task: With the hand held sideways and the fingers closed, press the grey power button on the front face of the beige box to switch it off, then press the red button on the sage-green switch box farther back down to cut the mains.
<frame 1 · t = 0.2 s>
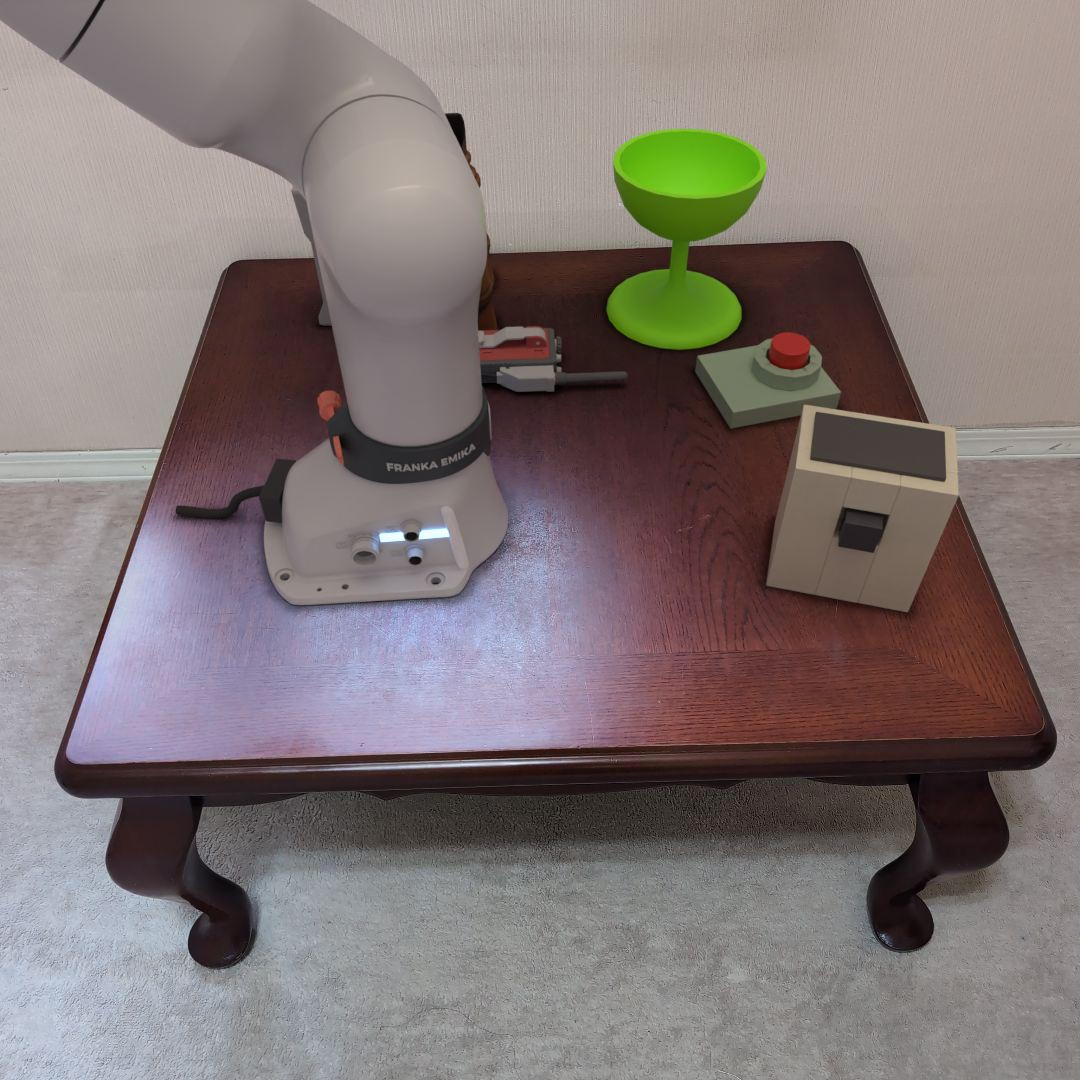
power button: (860, 529, 75), point 9 cm above the table, slide at 0.0 cm
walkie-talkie: (533, 372, 105), on the table
beige box: (838, 565, 85), on the table
vintage mobile phone: (344, 319, 112), on the table
mains button: (789, 351, 99), point 5 cm above the table, slide at 0.1 cm
wineglass: (673, 311, 112), on the table
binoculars: (461, 305, 114), on the table
switch box: (764, 390, 102), on the table
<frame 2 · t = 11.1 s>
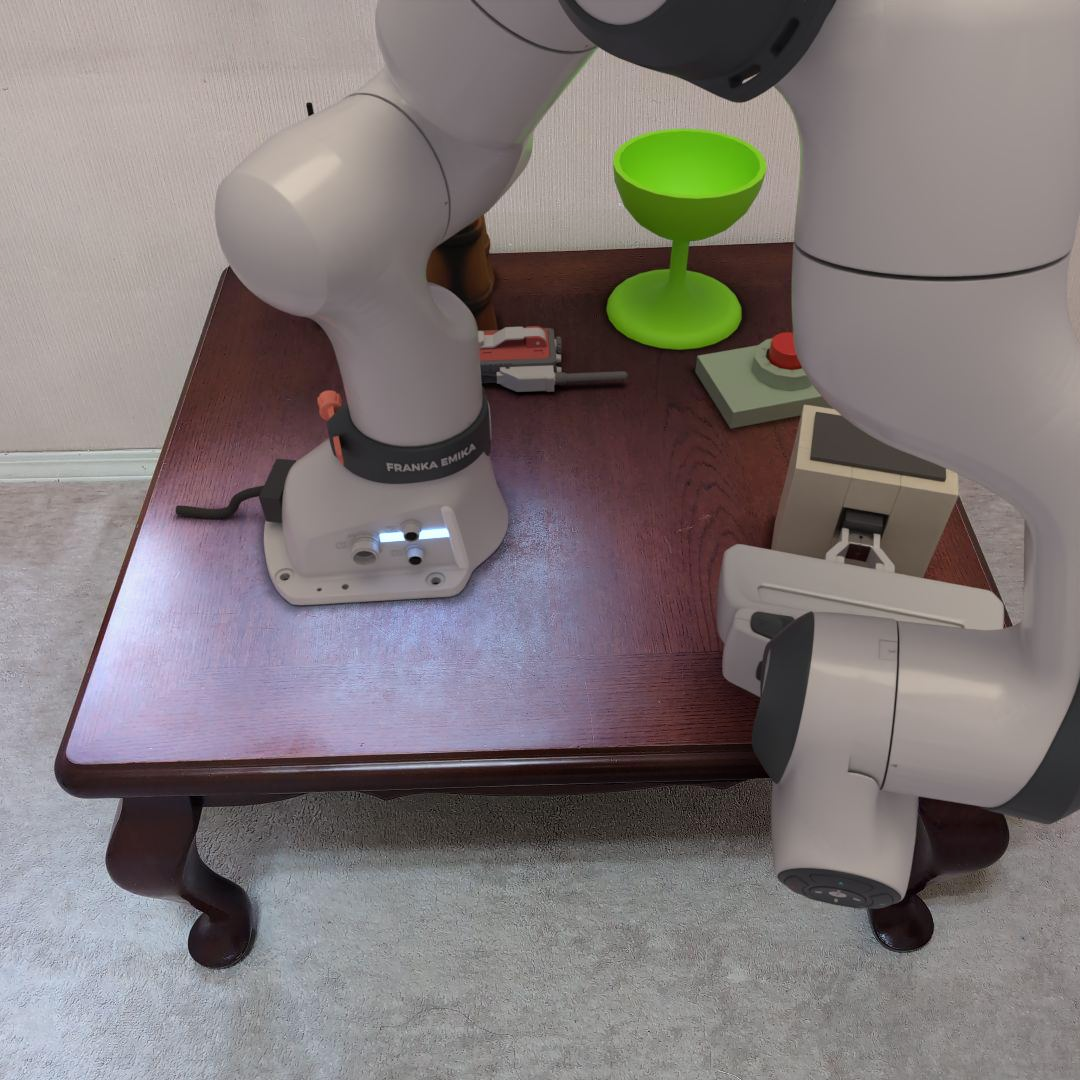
hand: (858, 536, 75), 9 cm above the table, tool horizontal, fingers closed, pressing on power button
power button: (860, 526, 75), point 9 cm above the table, slide at 0.3 cm, touching gripper
everything else where it was.
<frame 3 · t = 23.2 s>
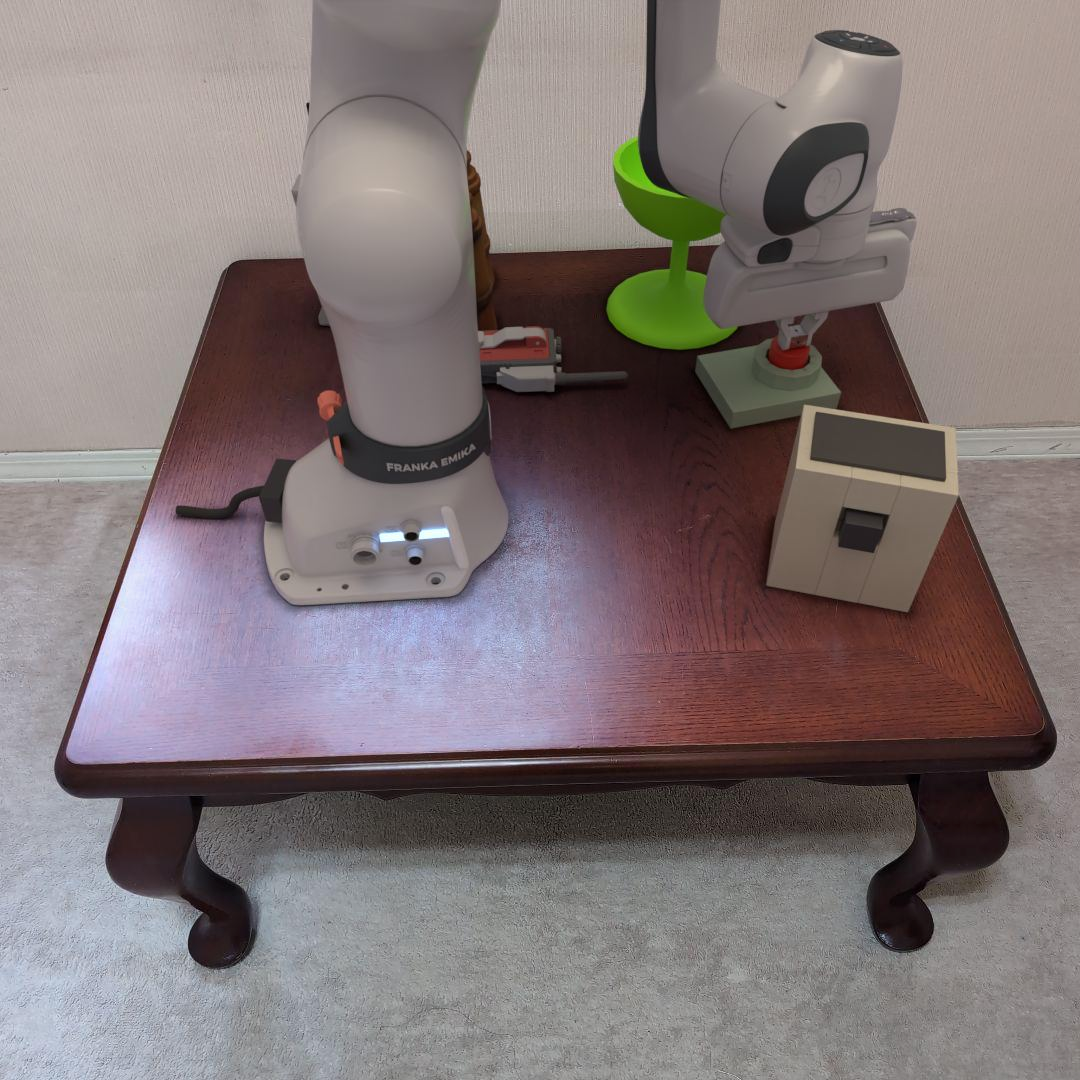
hand: (793, 345, 98), 5 cm above the table, tool pointing down, fingers closed, pressing on mains button
power button: (860, 529, 75), point 9 cm above the table, slide at 0.0 cm
mains button: (788, 353, 99), point 4 cm above the table, slide at -0.1 cm, touching gripper
everything else where it was.
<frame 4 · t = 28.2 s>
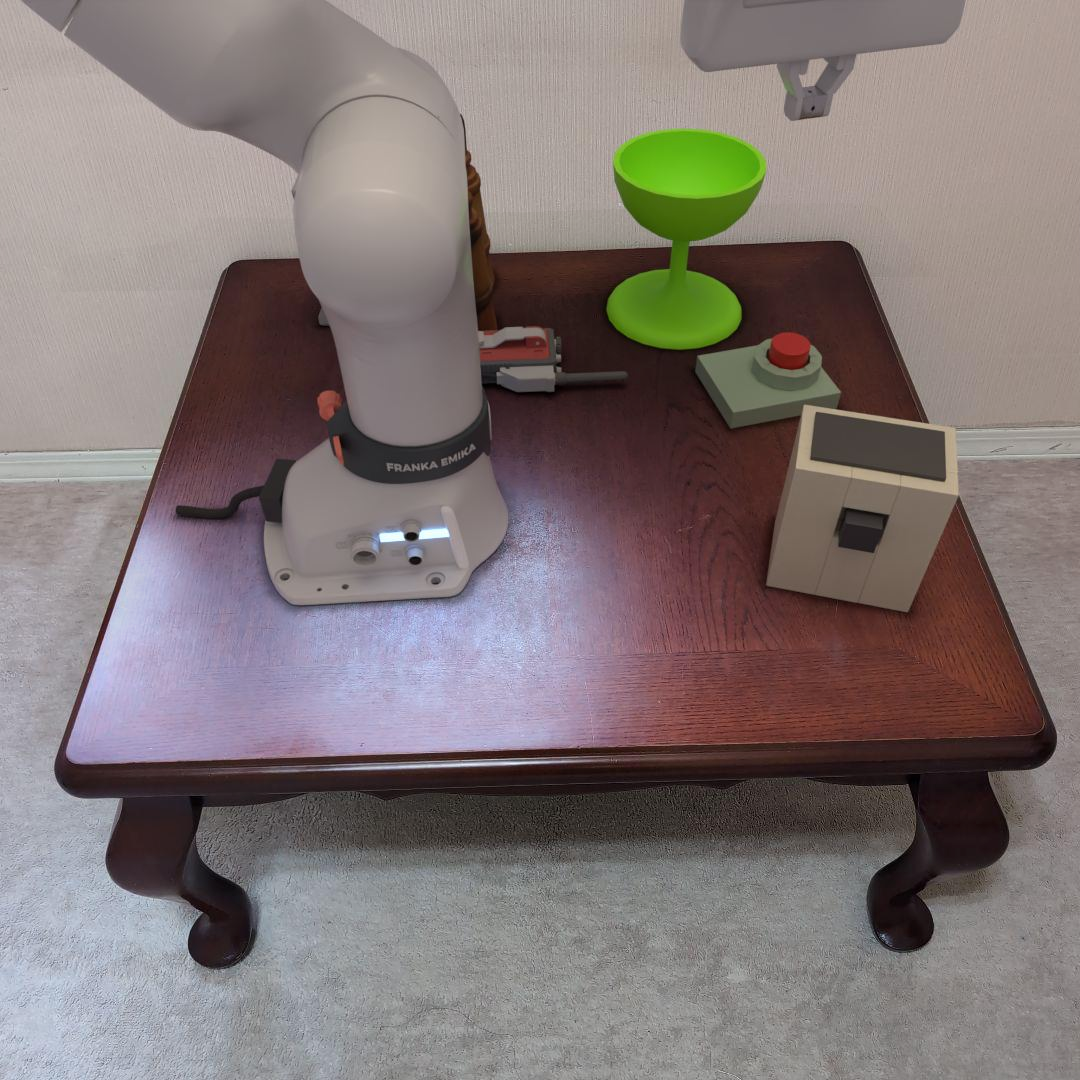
hand: (805, 116, 71), 33 cm above the table, tool pointing down, fingers closed
mains button: (789, 351, 99), point 5 cm above the table, slide at 0.1 cm
everything else where it was.
at the end: power button pulled out 0.8 cm at the most during the clip, back to where it started at the end; mains button pushed in 1.1 cm at the most during the clip, back to where it started at the end; mains button slide at 0.1 cm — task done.
